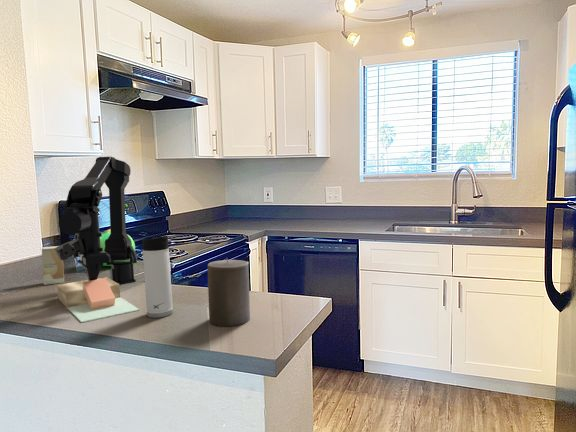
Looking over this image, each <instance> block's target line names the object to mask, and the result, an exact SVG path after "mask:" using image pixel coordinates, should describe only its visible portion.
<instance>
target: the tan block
mask: <svg viewBox="0 0 576 432" xmlns="http://www.w3.org/2000/svg"><path fill="white" fill-rule="evenodd" d="M103 278H106V280H107V282H108V284H109V286H110V288H111V290H112V292H113V294H114V296H115V298H120V297H121V288H120V284H118V283H116V282H115V281H113V280H111V278H109V277H107V276H104V277H98V278H97V279H103ZM85 281H88V279H86V280H79V281H74V282H73V281H72V282H66V283H59V284H57V285H56V288H57V289H56V290H57V300H59V301H60V302H61V304H63V305H64V307H66V308H67V309H68V307H73V306H78V305H83V304H88V301H87V299H86V296H85V294H84V291H83V282H85Z"/></svg>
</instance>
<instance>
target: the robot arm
mask: <svg viewBox="0 0 576 432" xmlns="http://www.w3.org/2000/svg"><path fill="white" fill-rule="evenodd" d="M131 172H132V171H131V167H130V165H129V164H128V163H127V162H126V161H123V160H120V159H117V158H116V157H113V156H98V157H96V158H95V163H94V164H93V166H92V167H91V168H90V170H89V172H88V173H87V174H86V176H85V177H84V178H83V179H81V180H77V181H75V183H74V184H72V185H71V186H70V189H69V190H68V192H67V193H68V194H67V197H66V201H65V204H64V209H63V210H64V211H65V213H63V214H62V215H61V216H60V218H59V220H58V227H59V229H60V230H61V232H62V233H64V234H66V235H68V236H71V235H73V236H74V237H73V238H74V239H73V240H70V241H67V242H65V243H63V244H61V245H57V246H58V247H56V248H55V249H54V250H55V252H56V254H57V255H58V257H59V259H61V260H63V261H65V260H67V259H69V258H70V257H71V258H73V259H76V257H79V259H78V260H76V262H77V263H78V264H79V265H81V266H82V267H83V269H84V272H85V274H86V278H87V280H88V281H91V280H97V278H99V275H100V273H101V270H102V269H103V267H104V266H103V263H107V265H111V266H110V267H111V268H109V276H110V278H109V279H111V280H113V281H115V282H116V283H118V284H119V285H120V284H128V283H133V282H137V279H135V273H134V264H137V263H138V255H137V253H136V249H135V250H134V248H133V246H132V242H131V239H130V238H129V237H128V235H129V234H128V235H127V227H126V200H125V199H126V197H125V190H126V187H127V186H128V184H129V182H130V176H131ZM104 184H105V185H106V187H107V189H108V197H109V200H108V201H109V227H110V228H109V229H110V231H111V233H110V236H109V237H108V239H106V240H105V249H104V251H103V248H102V247H101V246H100V237H102V233H101V231H100V222H99V221H100V220H99V212H100V211H101V210H100V208H99V206H100V203H101V200H102V197H103V191H102V190H101V189H102V187H103V185H104Z"/></svg>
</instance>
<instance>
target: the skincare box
mask: <svg viewBox="0 0 576 432" xmlns="http://www.w3.org/2000/svg"><path fill="white" fill-rule="evenodd" d="M58 246H59V245H56V246H52V245H51V246H43V247H41V260H42V262H41V264H42V265H41V266H42V277H43V278H42V279H43V280H42V281H43V285H44V286H47V285H48V286H49V285H55V284H65V274H64V273H65V272H64V260H61V259H59V257H58V255H57V254H56V252H55V250H54V249H55V248H56V247H58Z"/></svg>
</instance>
